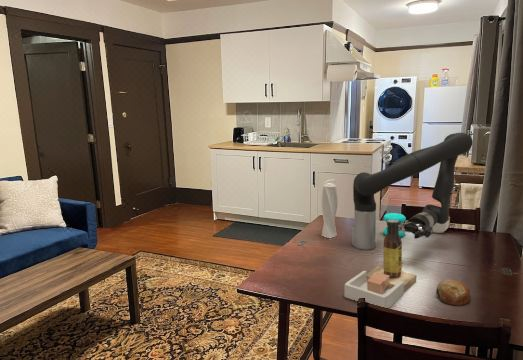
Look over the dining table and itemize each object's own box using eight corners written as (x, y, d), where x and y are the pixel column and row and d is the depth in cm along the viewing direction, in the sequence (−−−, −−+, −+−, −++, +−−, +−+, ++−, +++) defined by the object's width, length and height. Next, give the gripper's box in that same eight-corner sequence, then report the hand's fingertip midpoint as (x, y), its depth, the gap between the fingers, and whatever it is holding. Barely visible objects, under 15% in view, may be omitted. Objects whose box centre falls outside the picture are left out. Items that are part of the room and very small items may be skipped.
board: (364, 282, 140) (364, 275, 139) (379, 271, 148) (379, 265, 148) (402, 294, 130) (402, 287, 130) (416, 281, 139) (416, 275, 138)
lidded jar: (449, 228, 193) (450, 210, 191) (449, 235, 184) (450, 216, 182) (425, 226, 198) (426, 209, 196) (424, 233, 188) (425, 214, 186)
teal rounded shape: (381, 212, 190) (401, 212, 190) (380, 232, 192) (400, 231, 192) (387, 218, 180) (409, 217, 180) (386, 238, 182) (408, 238, 182)
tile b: (370, 289, 133) (367, 292, 131) (370, 277, 132) (367, 280, 130) (383, 292, 130) (380, 296, 128) (383, 280, 129) (380, 284, 127)
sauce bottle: (402, 278, 136) (404, 223, 132) (384, 277, 137) (385, 223, 134) (400, 271, 142) (401, 218, 139) (382, 270, 143) (383, 218, 140)
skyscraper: (328, 233, 193) (328, 178, 187) (340, 236, 187) (341, 180, 182) (318, 237, 188) (318, 180, 182) (330, 240, 182) (330, 182, 177)
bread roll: (434, 301, 132) (426, 282, 131) (461, 287, 132) (453, 268, 130) (451, 316, 123) (442, 296, 121) (480, 302, 122) (471, 281, 121)
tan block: (371, 285, 132) (371, 277, 132) (376, 280, 136) (376, 272, 135) (384, 289, 130) (384, 281, 129) (389, 283, 133) (389, 275, 132)
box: (343, 296, 130) (343, 284, 129) (363, 282, 140) (363, 270, 139) (384, 311, 120) (385, 298, 119) (403, 294, 130) (403, 282, 129)
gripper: (403, 211, 160) (386, 220, 148) (439, 217, 150) (423, 228, 139) (403, 228, 161) (385, 239, 150) (438, 235, 152) (422, 247, 140)
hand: (404, 233), depth 144 cm, fingers open, 8 cm apart
